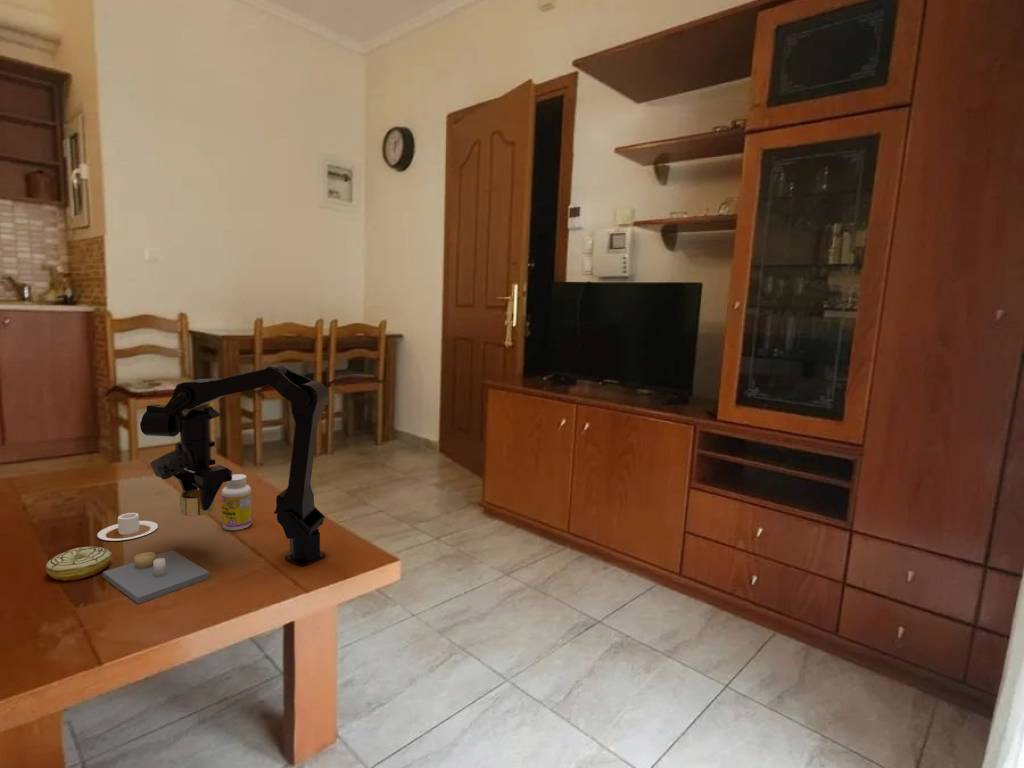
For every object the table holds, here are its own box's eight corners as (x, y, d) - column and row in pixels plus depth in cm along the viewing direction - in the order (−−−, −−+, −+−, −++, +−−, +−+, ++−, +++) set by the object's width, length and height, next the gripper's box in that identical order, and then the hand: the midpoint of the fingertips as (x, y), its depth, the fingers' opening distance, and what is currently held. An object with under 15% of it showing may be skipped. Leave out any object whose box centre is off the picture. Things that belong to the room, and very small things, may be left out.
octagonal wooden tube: (220, 510, 123) (219, 493, 123) (190, 518, 118) (189, 500, 117) (205, 503, 127) (204, 486, 126) (175, 511, 122) (175, 493, 121)
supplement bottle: (216, 527, 137) (214, 477, 136) (240, 519, 143) (239, 471, 142) (234, 533, 134) (232, 482, 133) (257, 524, 140) (256, 475, 139)
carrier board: (209, 577, 113) (208, 558, 112) (138, 604, 102) (137, 582, 102) (172, 555, 122) (171, 537, 121) (103, 577, 111) (101, 557, 111)
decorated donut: (116, 556, 121) (115, 539, 120) (106, 578, 112) (105, 560, 111) (55, 564, 116) (54, 547, 116) (40, 587, 107) (39, 569, 106)
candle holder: (127, 546, 126) (126, 528, 126) (84, 539, 129) (83, 522, 128) (169, 526, 138) (169, 510, 137) (129, 521, 140) (128, 504, 140)
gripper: (135, 436, 119) (138, 506, 121) (176, 452, 108) (179, 528, 110) (189, 428, 128) (191, 493, 130) (232, 442, 117) (234, 512, 120)
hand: (198, 506), depth 122 cm, fingers closed on octagonal wooden tube, 6 cm apart
